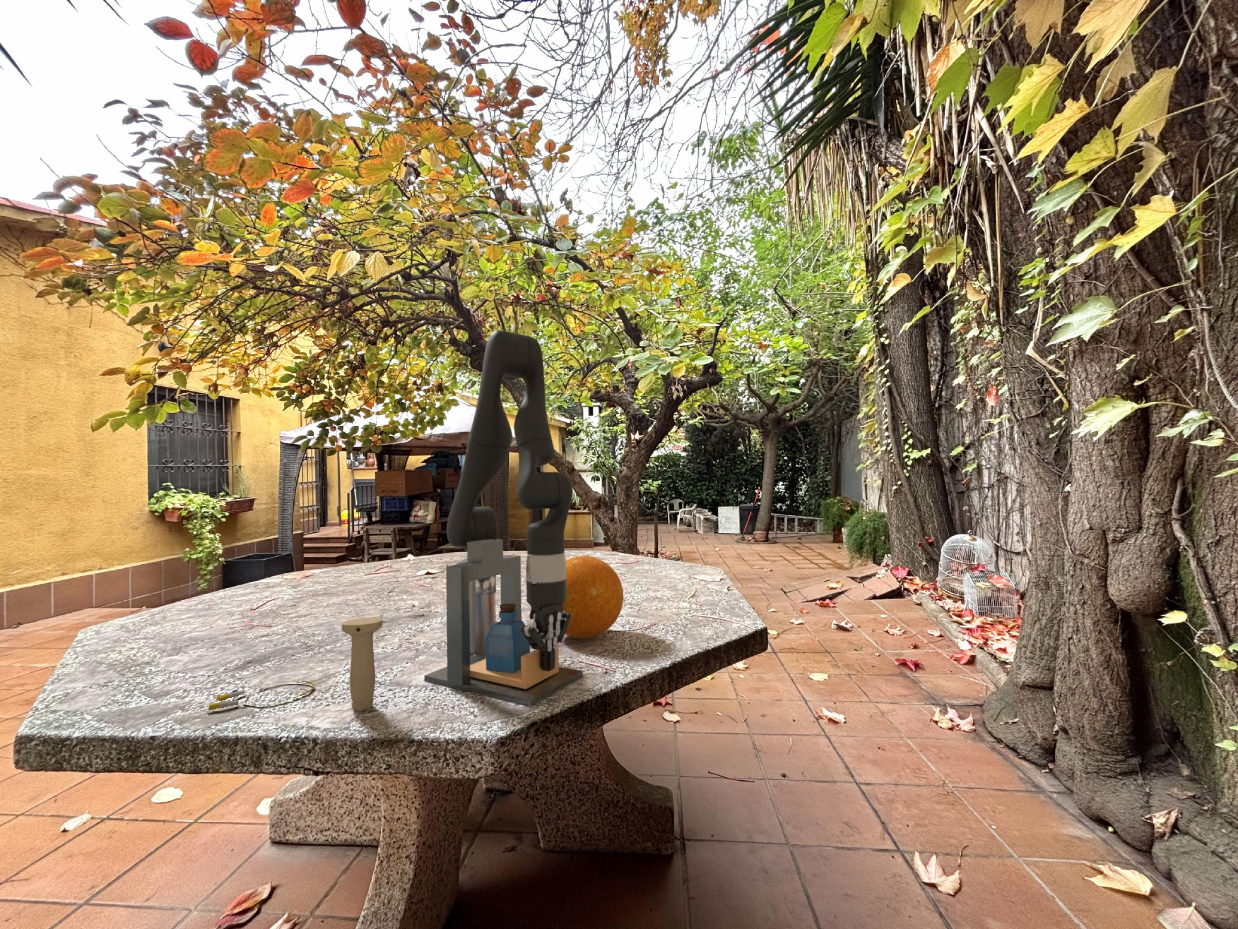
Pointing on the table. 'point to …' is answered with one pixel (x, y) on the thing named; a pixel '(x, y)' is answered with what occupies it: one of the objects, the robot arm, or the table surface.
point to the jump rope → (233, 702)
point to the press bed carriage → (522, 677)
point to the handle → (362, 660)
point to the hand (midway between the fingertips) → (547, 669)
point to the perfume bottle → (506, 642)
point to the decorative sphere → (591, 596)
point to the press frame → (483, 568)
